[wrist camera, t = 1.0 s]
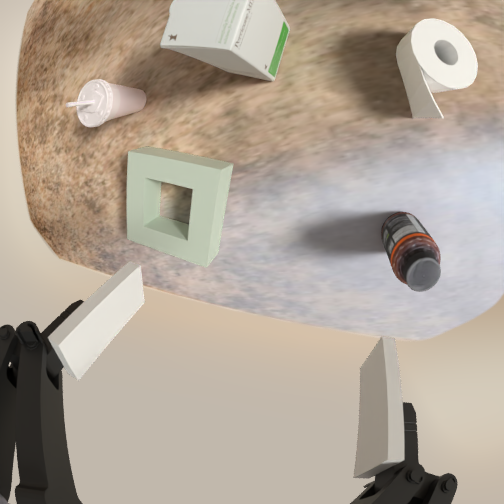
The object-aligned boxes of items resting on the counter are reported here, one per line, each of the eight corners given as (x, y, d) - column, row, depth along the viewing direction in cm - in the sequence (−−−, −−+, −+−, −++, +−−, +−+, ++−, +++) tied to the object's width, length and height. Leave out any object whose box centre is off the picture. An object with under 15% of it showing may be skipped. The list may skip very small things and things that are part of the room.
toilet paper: (412, 118, 25) (432, 119, 20) (386, 35, 21) (399, 17, 15) (465, 115, 22) (491, 117, 17) (441, 34, 18) (462, 21, 12)
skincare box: (274, 82, 28) (231, 56, 15) (224, 72, 29) (154, 50, 16) (291, 26, 24) (262, -33, 11) (241, 18, 24) (183, -32, 11)
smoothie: (156, 113, 34) (84, 123, 22) (125, 125, 35) (54, 140, 24) (150, 74, 31) (78, 70, 19) (119, 89, 33) (48, 93, 21)
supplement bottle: (422, 245, 32) (449, 293, 23) (384, 255, 35) (399, 306, 25) (417, 205, 30) (448, 243, 21) (376, 216, 33) (393, 257, 23)
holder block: (147, 146, 36) (128, 151, 32) (233, 163, 34) (220, 169, 31) (143, 228, 43) (127, 239, 40) (218, 252, 42) (206, 267, 38)
